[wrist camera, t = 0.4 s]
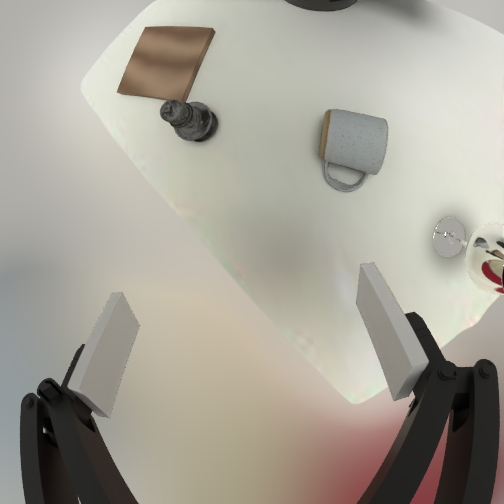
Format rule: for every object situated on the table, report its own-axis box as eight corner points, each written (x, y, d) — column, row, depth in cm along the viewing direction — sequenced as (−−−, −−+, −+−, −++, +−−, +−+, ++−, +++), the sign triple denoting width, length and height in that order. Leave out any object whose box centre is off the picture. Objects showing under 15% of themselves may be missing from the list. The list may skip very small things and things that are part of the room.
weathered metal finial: (176, 128, 39) (134, 112, 28) (202, 100, 38) (165, 75, 26) (200, 151, 40) (161, 141, 28) (227, 123, 38) (196, 101, 26)
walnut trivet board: (149, 30, 36) (145, 26, 34) (215, 32, 34) (212, 28, 33) (121, 94, 40) (116, 92, 38) (185, 103, 38) (181, 100, 37)
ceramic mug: (323, 114, 35) (326, 99, 28) (378, 125, 34) (393, 114, 26) (313, 184, 38) (314, 185, 31) (368, 196, 37) (382, 199, 29)
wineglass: (432, 207, 35) (502, 224, 17) (471, 215, 33) (544, 235, 16) (424, 260, 37) (484, 306, 19) (463, 264, 35) (528, 307, 18)
